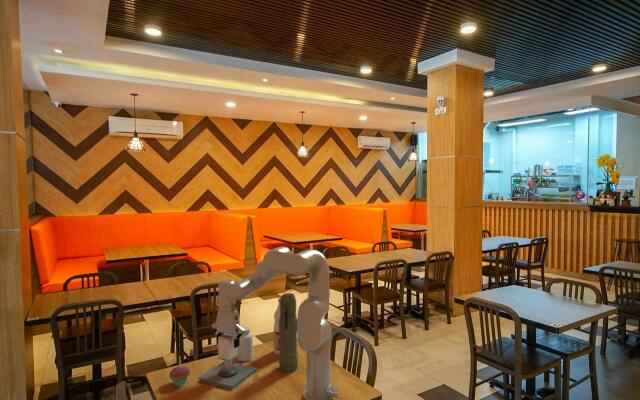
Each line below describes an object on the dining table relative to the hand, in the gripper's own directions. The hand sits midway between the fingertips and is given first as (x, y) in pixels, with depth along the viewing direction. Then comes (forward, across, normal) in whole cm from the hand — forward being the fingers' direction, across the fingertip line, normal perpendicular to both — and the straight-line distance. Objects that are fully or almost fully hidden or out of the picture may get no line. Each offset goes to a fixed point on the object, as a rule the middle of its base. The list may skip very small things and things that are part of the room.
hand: (227, 345), depth 175 cm
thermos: (+14, -21, -18) cm, 31 cm away
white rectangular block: (+6, 0, 0) cm, 6 cm away
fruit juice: (+14, -10, -32) cm, 37 cm away
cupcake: (+14, +15, +14) cm, 25 cm away
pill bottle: (+14, +4, -18) cm, 23 cm away
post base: (+14, 0, 0) cm, 14 cm away
